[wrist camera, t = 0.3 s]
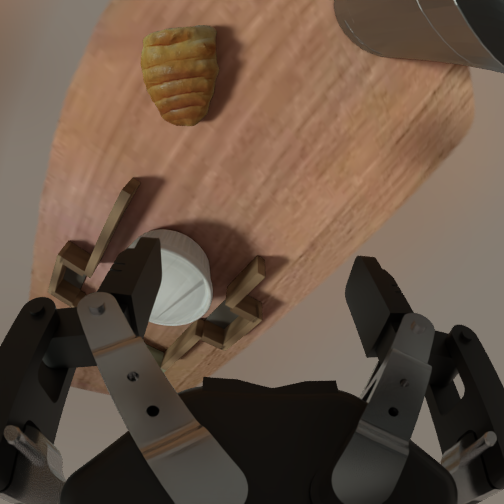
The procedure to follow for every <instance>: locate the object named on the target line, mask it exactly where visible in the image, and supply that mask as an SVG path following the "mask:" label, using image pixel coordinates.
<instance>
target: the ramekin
mask: <svg viewBox="0 0 504 504" xmlns="http://www.w3.org/2000/svg"><path fill="white" fill-rule="evenodd" d="M140 237H151V238H159V239H160V243H161V261H162V281H161V286H160V289H159V291H158V294H157V297H156V300H155V303H154V306H153V309H152V312H151V315H150V318H149V322H152V323H155V324H160V325H167V326H177V325H184V324H188V323H191V322H194V321H196V320H198V319H199V318H201V317H202V316H203V315H204V314H205V313H206V312H207V311H208V309H209V307H210V305H211V302H212V297H213V287H212V282H211V277H210V265H209V261H208V258H207V256H206V254H205V253H204V251H203V250H202V248H201V247H200V246H199V245H198V244H197V243H196V242H195V241H193V240H192V239H191V238H189V237H188V236H186V235H184V234H182V233H179V232H177V231H172V230H166V229H159V230H153V231H149V232H147V233H144V234H143V235H141V236H140ZM140 237H138V238H137V239H136V240H135V241H134V242H133V243H132V244H131V245H130V246H129V247H128V248H135V246H136V244H137V242H138V241H139V239H140ZM125 250H126V249H125Z"/></svg>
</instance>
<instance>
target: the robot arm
mask: <svg viewBox="0 0 504 504" xmlns="http://www.w3.org/2000/svg"><path fill="white" fill-rule="evenodd" d="M334 10H335V15H336V18H337V20H338V23H339V25H340V27H341V28H342V30H343V31H344V33H345V34H346V35H347V36H348V37H349V38H350V40H351V41H352V42H353V43H355V44H356V45H357V46H359V47H360V48H361V49H363V50H365V51H367V52H369V53H371V54H374V55H377V56H381V57H389V58H405V59H417V60H428V61H437V62H445V63H452V64H459V65H465V66H471V67H476V68H482V69H487V70H492V71H496V72H501V73H504V0H334ZM161 281H162V261H161V243H160V239H159V238H151V237H140V239H139V241H138V242H137V244H136V246H135V248H127V249H126V250H124V251H123V252H121V253H120V254H119V255H118V257H117V258H116V260H115V262H114V264H113V265H112V267H111V268H110V271H109V272H108V273H107V275H106V277H105V279H104V280H103V282H102V284H101V286H100V287H99V289H98V291H97V292H95V293H91V294H89V295H87V296H85V297H84V298H82V299H81V300H80V302H79V303H78V306H77V307H73V308H62V309H56V306H55V303H54V302H53V301H52V300H51V299H49V298H46V297H39V298H35V299H33V300H31V301H29V302H28V303H26V304H25V305H24V306H23V308H22V309H21V311H20V313H19V314H18V316H17V318H16V319H15V321H14V323H13V325H12V326H11V328H10V330H9V332H8V333H7V335H6V337H5V339H4V341H3V342H2V344H1V346H0V498H2V499H4V500H6V501H8V502H10V503H14V504H477V503H479V502H481V501H483V500H485V499H487V498H488V497H490V496H492V495H494V494H496V493H498V492H499V491H501V490H503V489H504V388H503V385H502V383H501V381H500V379H499V377H498V375H497V373H496V371H495V369H494V367H493V365H492V363H491V361H490V359H489V357H488V355H487V353H486V352H485V350H484V348H483V346H482V344H481V342H480V341H479V339H478V337H477V335H476V334H475V333H474V332H473V331H472V330H471V329H469V328H468V327H466V326H463V325H455V326H454V327H453V328H452V330H451V331H450V333H449V334H447V333H443V332H439V331H435V329H434V326H433V325H432V323H431V322H430V321H429V320H428V319H427V318H426V317H424V316H423V315H420V314H417V313H414V312H413V311H412V309H411V307H410V305H409V304H408V302H407V300H406V298H405V297H404V295H403V293H401V290H400V288H399V287H398V285H397V283H396V281H395V280H394V278H393V277H392V276H391V275H390V274H389V273H388V272H387V271H386V270H383V269H382V268H381V266H380V264H379V263H378V262H377V260H376V258H375V257H367V256H357V257H356V259H355V261H354V264H353V267H352V270H351V273H350V276H349V279H348V282H347V285H346V290H345V297H346V301H347V304H348V307H349V309H350V312H351V315H352V317H353V320H354V323H355V325H356V328H357V331H358V334H359V337H360V339H361V342H362V345H363V348H364V351H365V354H366V357H367V358H368V357H378V359H379V361H378V363H377V364H376V366H375V368H374V370H373V372H372V374H371V376H370V378H369V380H368V382H367V384H366V386H365V388H364V390H363V392H362V394H361V396H360V397H359V398H358V397H356V396H354V395H352V394H350V393H347V392H344V391H340V390H338V388H337V384H336V381H305V382H300V383H296V384H291V385H287V386H282V387H277V388H269V387H265V386H260V385H256V384H252V383H249V382H245V381H241V380H237V379H223V378H210V377H203V386H201V387H195V388H191V389H187V390H184V391H181V392H179V393H177V392H176V391H175V389H174V388H173V387H172V385H171V384H170V382H169V381H168V379H167V378H166V376H165V374H164V373H163V371H162V370H161V368H160V367H159V365H158V364H157V362H156V360H155V359H154V357H153V356H152V354H151V352H150V351H149V349H148V347H147V346H146V344H145V342H144V341H143V337H144V334H145V331H146V328H147V325H148V321H149V318H150V315H151V312H152V309H153V306H154V303H155V300H156V297H157V294H158V291H159V289H160V286H161ZM88 366H98V368H99V371H100V373H101V375H102V378H103V380H104V382H105V384H106V387H107V389H108V391H109V393H110V395H111V397H112V399H113V401H114V403H115V405H116V407H117V409H118V411H119V413H120V415H121V417H122V419H123V421H124V423H125V425H126V427H127V429H128V431H127V432H126V433H125V434H124V435H123V436H121V437H120V438H119V439H117V440H116V441H115V442H114V443H112V444H111V445H110V446H108V447H107V448H106V449H105V450H103V451H102V452H101V453H99V454H98V455H97V456H95V457H94V458H93V459H91V460H90V461H89V462H87V463H86V464H85V465H83V466H82V467H81V468H79V469H78V470H77V471H75V472H74V473H73V474H72V475H71V476H70V477H69V478H68V479H67V481H66V480H65V478H64V475H63V471H62V463H63V462H62V457H61V454H60V452H59V450H58V449H57V448H56V447H55V446H54V440H55V437H56V433H57V429H58V425H59V421H60V418H61V414H62V411H63V407H64V404H65V401H66V397H67V394H68V391H69V388H70V385H71V382H72V379H73V376H74V373H75V370H76V367H88ZM458 373H459V375H460V377H461V379H462V381H463V384H464V387H465V392H464V396H463V398H462V399H460V397H459V394H458V391H457V389H456V386H455V384H454V381H453V379H454V378H455V377H456V375H457V374H458ZM424 396H425V398H426V401H427V404H428V407H429V410H430V413H431V416H432V419H433V422H434V426H435V429H436V433H437V436H438V440H439V444H440V447H441V451H442V455H443V456H442V459H441V464H439V463H438V462H437V461H436V460H435V459H433V458H432V457H431V456H430V455H428V454H427V453H426V452H425V451H424V450H422V449H421V448H420V447H419V446H417V445H416V444H415V443H414V442H412V441H411V440H410V438H411V435H412V433H413V430H414V427H415V424H416V421H417V419H418V415H419V412H420V409H421V406H422V403H423V399H424Z"/></svg>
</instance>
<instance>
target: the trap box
mask: <svg viewBox="0 0 504 504" xmlns="http://www.w3.org/2000/svg"><path fill="white" fill-rule="evenodd" d="M139 184H140V182H139V181H137V180H136V179H134V178H132V179H131V180H130V181H129V182H128V183H127V185H126V186H125V187H124V188H123V189H122V191H121V193H120V195H119V197H118V198H117V200H116V202H115V204H114V206H113V209H112V211H111V213H110V215H109V217H108V219H107V221H106V223H105V225H104V227H103V230H102V232H101V234H100V236H99V238H98V241H97V243H96V245H95V247H94V250H93V252H92V254H89V253H87V252H86V251H84V250H83V249H81V248H79V247H78V246H76V245H75V244H73V243H72V242H70V241H68V242H67V243H66V245H65V246H64V247H63V248H62V250H61V251H60V252H59V254H58V256H57V259H56V262H55V266H54V270H53V273H52V277H51V281H50V285H49V289H48V293H49V294H51V295H53V296H54V297H56V298H57V299H59V300H60V301H62V302H64V303H65V304H67V305H69V306H70V307H71V308H73V307H77V306H78V303H79V302H80V300H81V299H82V298H84V297H85V295H86V294H85V293H83V292H82V291H80V289H81V287H82V284H83V282H84V279H85V277H86V276H88V277H89V278H91V276H92V274H93V273H94V271H95V269H96V268H97V266H98V264H99V263H100V260H101V258H102V256H103V254H104V252H105V250H106V248H107V246H108V243H109V241H110V239H111V237H112V235H113V233H114V231H115V229H116V227H117V225H118V223H119V221H120V219H121V217H122V216H123V214H124V212H125V210H126V208H127V206H128V204H129V202H130V201H131V199H132V197H133V195H134V193H135V192H136V190H137V188H138V186H139ZM264 278H265V262H264V259H262V258H260V257H259V256H257V257H256V258H255V259H254V260H253V261H252V262H251V263H250V264H249V265H248V266H247V267H246V268H245V269H244V270H243V271H242V272H241V273H240V274H239V275H238V276H237V277H236V279H235V280H234V281H233V282H232V283H231V284H230V285H229V286H228V287H227V292H226V299H225V300H224V301H223V302H222V303H221V304H220V305H219V306H218V307H217V308H216V309H215V310H214V311H213V312H212V313H211V314H210V315H209V316H208V317H207V318H206V319H205V320H202V319H200V318H199V319H198V320H196V321H194V322H193V323H192V324H191V325H190V326H189V327H188V328H187V329H186V330H185V332H184V333H183V334H182V335H181V336H180V337H179V338H178V339H177V340H176V341H175V342H174V343H173V344H172V345H171V346H170V347H169V348H168V349H167V350H166V351H165V352H164V353H163V352H161V351H159V350H157V349H155V348H153V347H151V346H149V345H147V344H146V346H147V347H148V349H149V351H150V352H151V354H152V356H153V357H154V359H155V360H156V362H157V364H158V365H159V367H160V368H161V370H162V371H163V373H164V372H165V371H166V370H167V369H168V368H170V367H171V366H172V365H173V364H174V363H175V362H176V361H177V360H178V359H179V358H180V357H181V356H183V355H184V354H185V353H186V352H187V351H188V350H189V349H190V348H191V347H192V346H193V345H194V344H195V343H197V342H198V341H199V340H202V341H204V342H206V343H208V344H210V345H213V346H215V347H217V348H219V349H221V350H224V351H226V350H227V349H228V348H230V347H231V346H232V345H233V344H235V343H236V342H237V341H238V340H239V339H241V338H242V337H243V336H244V335H246V334H247V333H248V332H249V331H250V330H252V329H253V328H254V327H255V326H256V325H258V324H259V323H260V322H261V321H262V303H261V302H259V301H257V300H255V299H254V298H252V297H250V296H248V295H247V294H248V293H249V292H250V291H251V290H252V289H253V288H254V287H255V286H257V285H258V284H259V283H260V282H261V281H262V280H263V279H264Z"/></svg>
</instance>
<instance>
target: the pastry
mask: <svg viewBox="0 0 504 504" xmlns="http://www.w3.org/2000/svg"><path fill="white" fill-rule="evenodd" d="M216 34H217V32H216V30H215V28H213V27H211V26H206V25H198V26H194V27H183V28H170V29H165V30H162V31H157V32H154V33H151V34H149V35H148V36H146V37H145V38H144V40H143V51H142V57H141V68H142V72H143V78H144V83H145V85H146V88H147V91H148V93H149V94H150V96H151V99H152V101H153V102H154V103H155V105H156V106H157V108H158V110H159V112H160V115H161V117H162V118H163V119H165V120H166V121H167V122H169V123H171V124H173V125H176V126H194V125H196V124H197V123H198V122H199V121H200V120H201V119H202V118H203V117H204V116H205V115H206V114H207V112H208V108H209V104H210V100H211V98H212V96H213V94H214V88H215V81H216V77H217V75H218V73H219V66H218V64H217V62H216V60H217V55H216V40H215V38H216Z"/></svg>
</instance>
